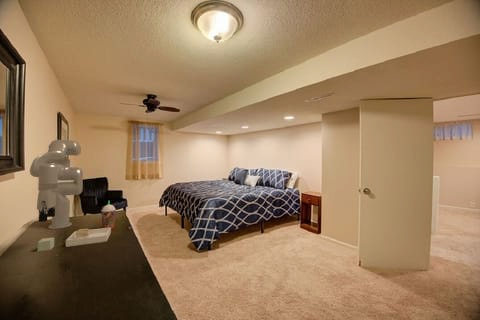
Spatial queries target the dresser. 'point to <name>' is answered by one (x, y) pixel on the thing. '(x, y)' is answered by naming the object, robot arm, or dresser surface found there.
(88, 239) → the tray
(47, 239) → the sage block
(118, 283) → the dresser surface
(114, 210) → the smoothie
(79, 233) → the maple block
